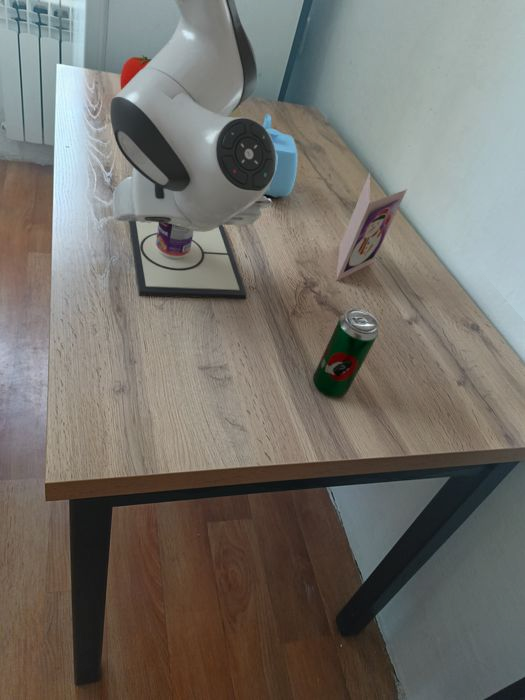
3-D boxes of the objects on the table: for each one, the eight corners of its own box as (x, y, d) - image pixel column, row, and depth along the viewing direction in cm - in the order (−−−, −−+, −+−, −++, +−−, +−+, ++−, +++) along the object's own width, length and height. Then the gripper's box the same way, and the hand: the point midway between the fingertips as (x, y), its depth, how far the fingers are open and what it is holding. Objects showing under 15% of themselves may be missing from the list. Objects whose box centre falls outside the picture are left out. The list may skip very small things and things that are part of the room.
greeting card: (340, 283, 91) (374, 205, 81) (308, 260, 94) (337, 182, 84) (376, 265, 99) (411, 191, 89) (345, 243, 102) (376, 170, 92)
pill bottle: (152, 239, 85) (159, 183, 79) (184, 239, 87) (194, 185, 81) (159, 260, 82) (167, 203, 75) (193, 259, 84) (204, 204, 77)
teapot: (282, 167, 119) (297, 116, 111) (292, 210, 106) (310, 155, 98) (227, 156, 116) (238, 102, 108) (231, 198, 103) (244, 141, 95)
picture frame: (139, 295, 77) (139, 289, 76) (128, 218, 90) (128, 212, 89) (245, 299, 82) (247, 293, 81) (220, 225, 95) (221, 220, 94)
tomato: (169, 121, 121) (175, 71, 114) (121, 115, 117) (124, 62, 110) (162, 102, 128) (167, 53, 121) (116, 95, 124) (119, 45, 117)
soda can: (353, 397, 73) (389, 332, 65) (321, 402, 70) (354, 336, 62) (336, 370, 76) (368, 305, 68) (305, 374, 74) (334, 307, 65)
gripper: (275, 175, 73) (239, 201, 85) (120, 163, 64) (106, 193, 77) (278, 222, 73) (241, 241, 85) (123, 216, 65) (108, 237, 77)
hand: (176, 218), depth 81 cm, fingers open, 8 cm apart
